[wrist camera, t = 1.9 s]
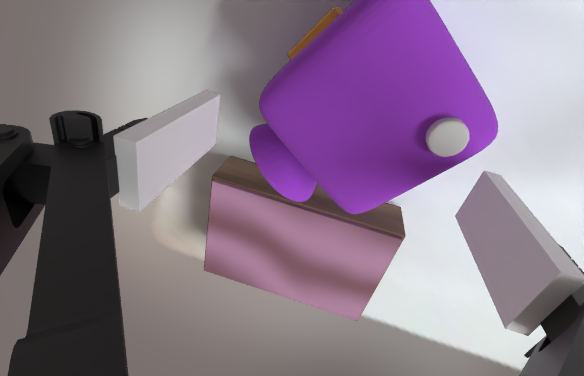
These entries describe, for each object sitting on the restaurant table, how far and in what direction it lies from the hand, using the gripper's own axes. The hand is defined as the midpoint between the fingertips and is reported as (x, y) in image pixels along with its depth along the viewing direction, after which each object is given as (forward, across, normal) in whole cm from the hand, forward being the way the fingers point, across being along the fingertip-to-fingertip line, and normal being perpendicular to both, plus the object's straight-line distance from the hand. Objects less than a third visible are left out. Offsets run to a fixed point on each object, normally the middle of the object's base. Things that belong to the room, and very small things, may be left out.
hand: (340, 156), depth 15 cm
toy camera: (+10, 0, +1) cm, 10 cm away
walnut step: (+10, -1, -13) cm, 16 cm away
